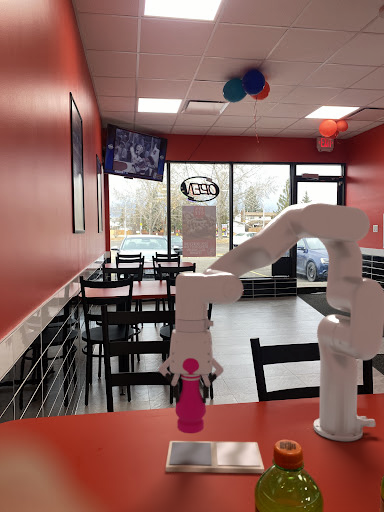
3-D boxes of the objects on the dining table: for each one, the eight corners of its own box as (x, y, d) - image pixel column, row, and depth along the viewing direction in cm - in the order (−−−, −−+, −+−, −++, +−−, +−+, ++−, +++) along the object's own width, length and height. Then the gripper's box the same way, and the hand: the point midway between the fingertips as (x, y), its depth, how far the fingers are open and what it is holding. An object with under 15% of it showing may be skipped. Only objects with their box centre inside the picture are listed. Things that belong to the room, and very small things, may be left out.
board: (257, 446, 104) (257, 441, 104) (264, 473, 92) (264, 468, 92) (169, 444, 104) (169, 440, 104) (165, 471, 92) (165, 466, 92)
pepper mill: (206, 421, 101) (207, 341, 100) (204, 435, 94) (205, 349, 93) (177, 420, 102) (178, 340, 101) (173, 433, 95) (173, 347, 94)
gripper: (227, 322, 100) (226, 395, 101) (156, 321, 101) (156, 394, 101) (229, 329, 93) (228, 408, 94) (152, 328, 93) (152, 406, 94)
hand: (190, 400), depth 97 cm, fingers closed on pepper mill, 5 cm apart
